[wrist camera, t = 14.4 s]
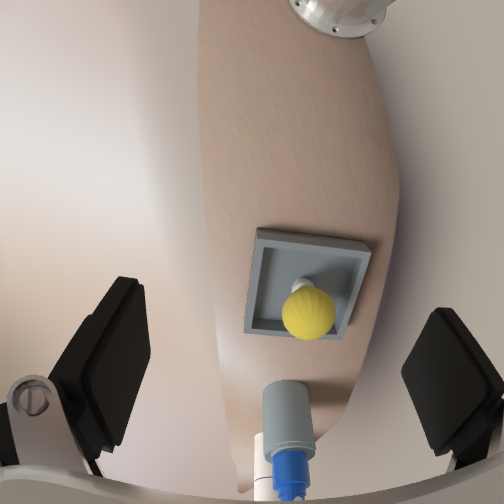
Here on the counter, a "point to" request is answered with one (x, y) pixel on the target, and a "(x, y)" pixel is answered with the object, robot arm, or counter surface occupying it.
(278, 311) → the tray
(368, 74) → the counter surface
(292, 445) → the spray bottle
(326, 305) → the light bulb
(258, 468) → the cylindrical container
